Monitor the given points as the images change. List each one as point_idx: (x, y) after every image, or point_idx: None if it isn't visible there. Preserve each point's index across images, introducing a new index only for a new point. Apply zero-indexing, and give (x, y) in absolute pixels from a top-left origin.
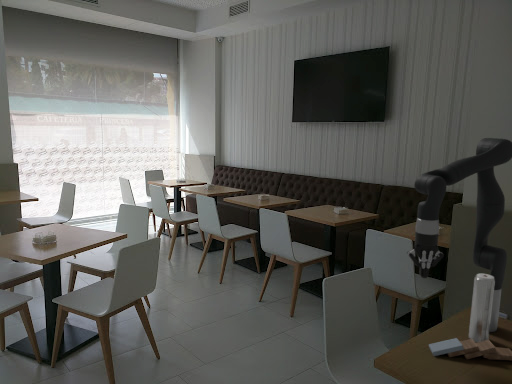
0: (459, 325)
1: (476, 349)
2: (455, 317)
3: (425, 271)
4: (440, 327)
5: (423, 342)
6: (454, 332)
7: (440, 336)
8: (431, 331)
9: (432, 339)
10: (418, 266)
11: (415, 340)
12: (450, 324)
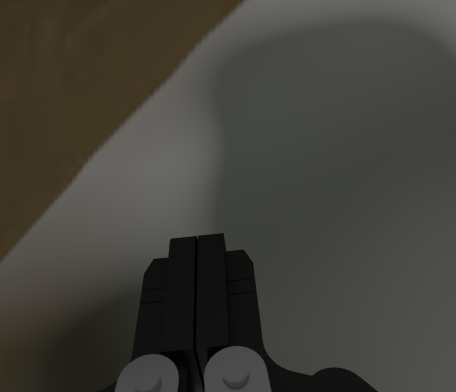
0: (3, 185)
1: None
2: (15, 240)
3: (193, 307)
4: (83, 157)
5: (186, 3)
6: (27, 125)
7: (94, 78)
8: (128, 117)
9: (136, 42)
10: (331, 373)
11: (221, 17)
12: (39, 187)
